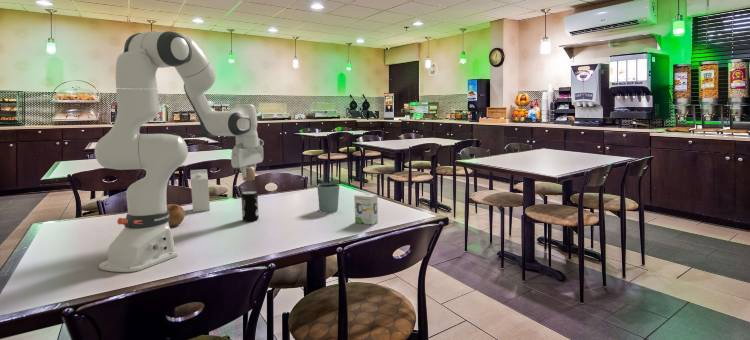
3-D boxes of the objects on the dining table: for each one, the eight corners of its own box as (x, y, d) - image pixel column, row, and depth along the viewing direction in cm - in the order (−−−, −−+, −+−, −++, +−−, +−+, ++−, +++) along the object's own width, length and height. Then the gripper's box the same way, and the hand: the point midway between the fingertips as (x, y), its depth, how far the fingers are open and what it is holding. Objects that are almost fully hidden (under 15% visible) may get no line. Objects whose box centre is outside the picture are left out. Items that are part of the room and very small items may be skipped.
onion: (179, 233, 171) (182, 214, 167) (154, 229, 169) (156, 209, 164) (186, 220, 179) (189, 200, 175) (162, 215, 177) (164, 195, 173)
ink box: (378, 222, 175) (378, 194, 174) (372, 225, 171) (372, 196, 169) (360, 219, 179) (360, 192, 178) (354, 222, 175) (353, 194, 173)
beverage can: (254, 222, 176) (252, 194, 175) (239, 221, 178) (238, 193, 176) (261, 218, 183) (260, 191, 181) (247, 217, 184) (246, 190, 182)
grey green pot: (314, 212, 193) (313, 186, 191) (323, 207, 203) (322, 182, 201) (334, 213, 190) (334, 187, 188) (343, 208, 200) (342, 183, 198)
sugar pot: (251, 180, 175) (250, 168, 174) (240, 180, 176) (240, 167, 175) (256, 179, 179) (256, 166, 179) (246, 178, 180) (246, 166, 180)
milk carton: (192, 209, 200) (190, 169, 198) (208, 207, 203) (206, 168, 201) (193, 212, 194) (190, 171, 191) (209, 210, 197) (207, 170, 194)
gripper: (240, 145, 165) (242, 180, 167) (265, 140, 184) (266, 172, 186) (226, 144, 166) (228, 179, 168) (252, 140, 186) (253, 172, 188)
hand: (248, 175), depth 177 cm, fingers closed on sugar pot, 5 cm apart
